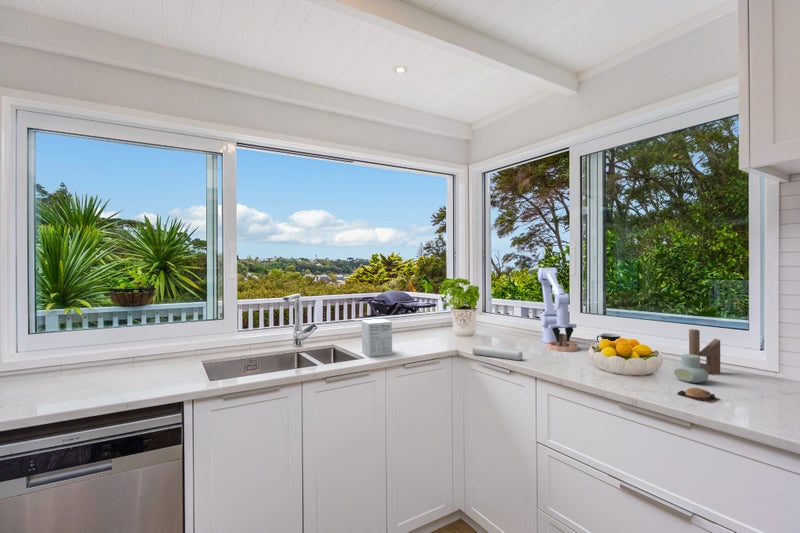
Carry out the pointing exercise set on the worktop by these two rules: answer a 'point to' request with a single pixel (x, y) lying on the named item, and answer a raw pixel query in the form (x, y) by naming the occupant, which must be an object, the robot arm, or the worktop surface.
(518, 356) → the tube
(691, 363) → the air freshener
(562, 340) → the tan rectangular block
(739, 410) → the worktop surface
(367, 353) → the supplement box
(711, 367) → the brown wooden sculpture
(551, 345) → the candle dish
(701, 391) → the brown domed oval piece
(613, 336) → the coffee mug
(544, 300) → the robot arm
